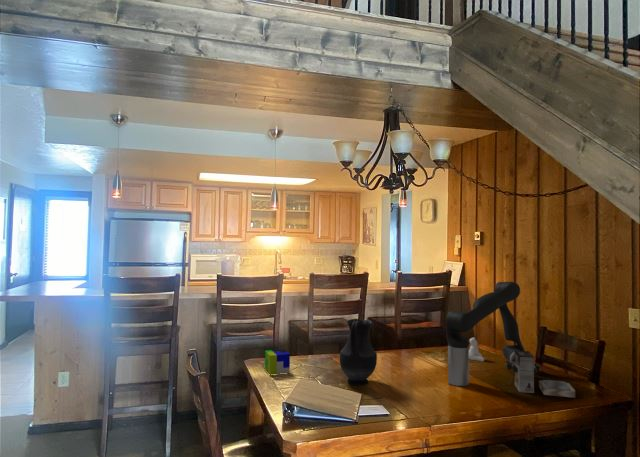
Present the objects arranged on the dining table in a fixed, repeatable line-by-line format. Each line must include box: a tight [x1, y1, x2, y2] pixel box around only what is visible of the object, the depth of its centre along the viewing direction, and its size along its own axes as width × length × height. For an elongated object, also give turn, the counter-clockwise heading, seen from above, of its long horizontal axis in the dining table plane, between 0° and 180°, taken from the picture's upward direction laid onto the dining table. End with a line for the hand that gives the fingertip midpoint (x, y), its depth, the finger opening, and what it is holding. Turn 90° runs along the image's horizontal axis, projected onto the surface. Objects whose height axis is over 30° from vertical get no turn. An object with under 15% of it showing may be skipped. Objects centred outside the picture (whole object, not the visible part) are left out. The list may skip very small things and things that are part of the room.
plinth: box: [538, 379, 576, 399], centre depth 189 cm, size 12×11×3 cm
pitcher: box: [339, 318, 378, 386], centre depth 200 cm, size 17×21×30 cm
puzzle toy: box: [264, 348, 291, 375], centre depth 216 cm, size 10×10×10 cm
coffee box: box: [514, 350, 535, 394], centre depth 193 cm, size 9×6×16 cm
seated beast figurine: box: [468, 337, 485, 363], centre depth 241 cm, size 10×9×12 cm
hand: (525, 371), depth 190 cm, fingers open, 7 cm apart
